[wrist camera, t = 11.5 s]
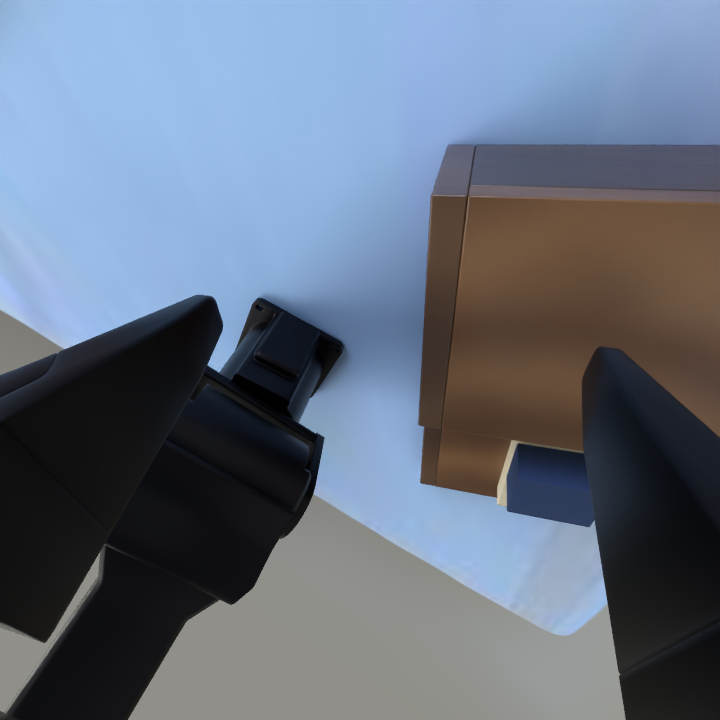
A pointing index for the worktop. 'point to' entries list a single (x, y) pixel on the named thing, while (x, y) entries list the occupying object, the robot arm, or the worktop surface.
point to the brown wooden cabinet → (562, 292)
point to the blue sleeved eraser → (546, 483)
